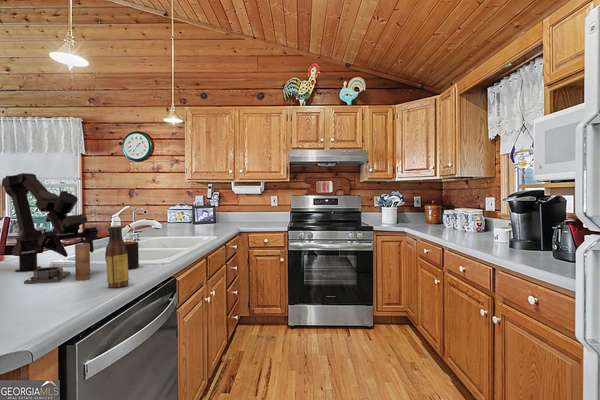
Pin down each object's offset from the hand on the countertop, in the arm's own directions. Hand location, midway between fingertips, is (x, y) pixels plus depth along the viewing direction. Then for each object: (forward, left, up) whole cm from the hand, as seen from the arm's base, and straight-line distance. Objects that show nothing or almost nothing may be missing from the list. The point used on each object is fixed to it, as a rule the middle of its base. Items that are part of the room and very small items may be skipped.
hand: (80, 253), depth 124 cm
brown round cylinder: (+1, +1, -9) cm, 9 cm away
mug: (-14, +11, -9) cm, 20 cm away
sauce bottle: (+15, +15, -9) cm, 23 cm away
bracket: (-3, -11, -9) cm, 15 cm away
